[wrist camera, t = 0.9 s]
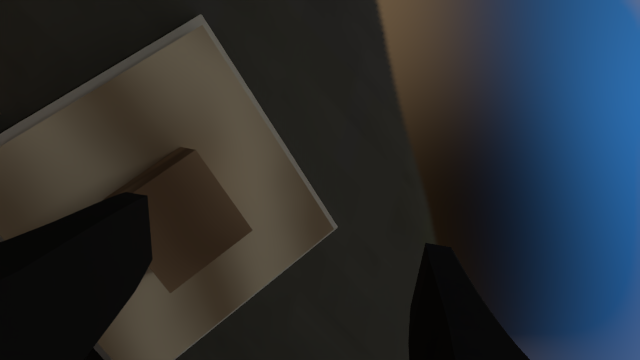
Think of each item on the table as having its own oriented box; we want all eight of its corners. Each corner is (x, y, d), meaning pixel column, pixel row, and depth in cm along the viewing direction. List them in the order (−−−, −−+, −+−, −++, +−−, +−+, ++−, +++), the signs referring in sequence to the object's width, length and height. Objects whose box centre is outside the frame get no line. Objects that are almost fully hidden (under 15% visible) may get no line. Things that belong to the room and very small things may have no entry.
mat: (133, 386, 25) (134, 392, 24) (-62, 172, 21) (-67, 173, 20) (333, 225, 28) (337, 227, 28) (198, 16, 24) (201, 14, 24)
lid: (136, 378, 24) (144, 435, 19) (-46, 176, 20) (-88, 189, 16) (326, 225, 27) (371, 244, 23) (198, 28, 24) (221, 4, 19)
